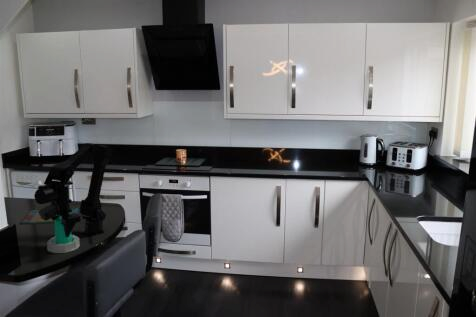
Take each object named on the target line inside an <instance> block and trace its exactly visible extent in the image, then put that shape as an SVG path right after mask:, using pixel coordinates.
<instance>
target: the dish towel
mask: <svg viewBox="0 0 476 317" xmlns="http://www.w3.org/2000/svg"><path fill="white" fill-rule="evenodd" d="M71 209H72V212H71V213H69V214H72V213H76V214H78V215H79V213H80V209H79V208H78V207H75V208H71ZM39 210H40V209H37V210H34V209H33V210H30V211H29V212H28V214H27V215H26V216H25V217H24V218H23V219H22V221H21V223H20V224H21V225H36V224H38V225H39V224H40V225H41V224H54V222H53V220H52V219H49V220H47V221H45V220H44V219H41V217H40V215H39V213H38V211H39Z"/></svg>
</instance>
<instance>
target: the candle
mask: <svg viewBox="0 0 476 317" xmlns="http://www.w3.org/2000/svg"><path fill="white" fill-rule="evenodd" d="M61 218H62V217H58V218H56V219H55V220H54V223H55V224H54V223H53V224H54V237H55V242H56V244H66V243H69V242H72V236H71V235H72V233H71V234H70V236H69V237H66V235H65V231H64V226H63V225H62V224H61V222H62V221H61Z"/></svg>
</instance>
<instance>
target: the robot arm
mask: <svg viewBox="0 0 476 317" xmlns="http://www.w3.org/2000/svg"><path fill="white" fill-rule="evenodd" d="M113 153H114V152H113V149H112V147H111V146H109V145H101V144H99V145H98V144H95V143H91V142H90V143H88V142H86V143H83V145H82V146H81V147H80V148H78V150H76V151H75V152H74V153H73V154H72V155H71V156H70V157H68V158H67V159H66V160H64V161H62V162H58V163H57V164H54V165H53V166H51V167H50V169H49V172H48V173H47V176H46V178H45V180H44V182H43V184H44V185H39V186H38V187H37V188H38V189H37V190H36V191H35V192H34V195H33V196H34V200H35V202H36V203H37V204H39V205H44V204H47V203H50V204H49V205H47V206H45V207H43V208H41V209H38V210H39V211H38V213H39V215H40V217H41V219H44V220H45V221H47V220H49V219H52V220H53V222H54V220H55V219H56V218H58V217H62V218H61V221H62V222H61V224H62V225H63V226H64V231H65V235H66V237H69V236H70V234H71V235H72V231H73V230H74V229H73V228H74V227H75V226H76V224H77V223H81V222H82V220H85V223H84V231H83V232H84V233H85V234H88V235H89V236H91V237H92V236H96V235H98V234H99V235H100V234H103V233H105V230H104V228H103V221H104V220H106V216H107V215H106V212H104V210H102V206H103V205H102V202H101V200H100V195H101V190H102V186H103V181H104V176H105V171H106V168H107V165H108V164H109V163H110V162H111V160H112V156H113ZM89 157H91V160H92V163H93V167H92V172H91V177H90V183H89V187H88V192H87V196H85V198H84V199H81V201H80V206H79V208H78V210H80V211H79V213H80V214H79V213H78V214H76V213H72V214H69V213H71V212H72V209H73V208H71V204H70V203H72V202H73V200H72V198H70V186H72V185H74V182H73V181H71V180H70V179H71V178H72V177H73V176H74V175H75V170H76V169H77V168H79V166H81V164H83V162H85V161H86V160H87V159H88V158H89ZM53 224H54V225H55V223H53Z"/></svg>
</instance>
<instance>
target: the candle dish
mask: <svg viewBox="0 0 476 317" xmlns="http://www.w3.org/2000/svg"><path fill="white" fill-rule="evenodd" d="M71 236H72V242H69V243H66V244H56V242H55V236H54V237H51V238H50V239H49V240H48V241H46V246H47V250H46V251H48V252H49V253H51V254H52V253H53V254H65V253H70V252H74V251H75V250H77V249H79V248H80V246H81V245H80V237H78V236H76V235H74V234H71Z"/></svg>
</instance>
